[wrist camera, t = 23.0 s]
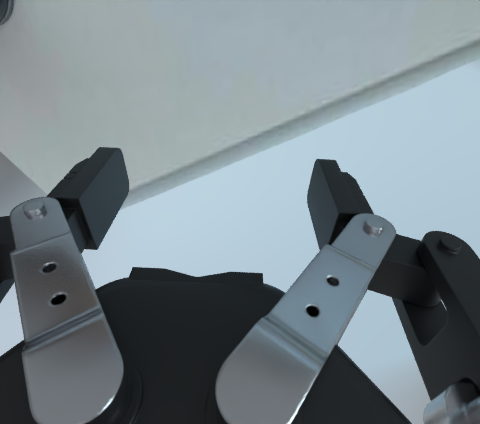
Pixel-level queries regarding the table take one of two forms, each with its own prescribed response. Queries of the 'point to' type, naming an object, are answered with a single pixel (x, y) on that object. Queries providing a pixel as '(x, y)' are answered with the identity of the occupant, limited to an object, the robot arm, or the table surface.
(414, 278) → the robot arm
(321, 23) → the table surface
